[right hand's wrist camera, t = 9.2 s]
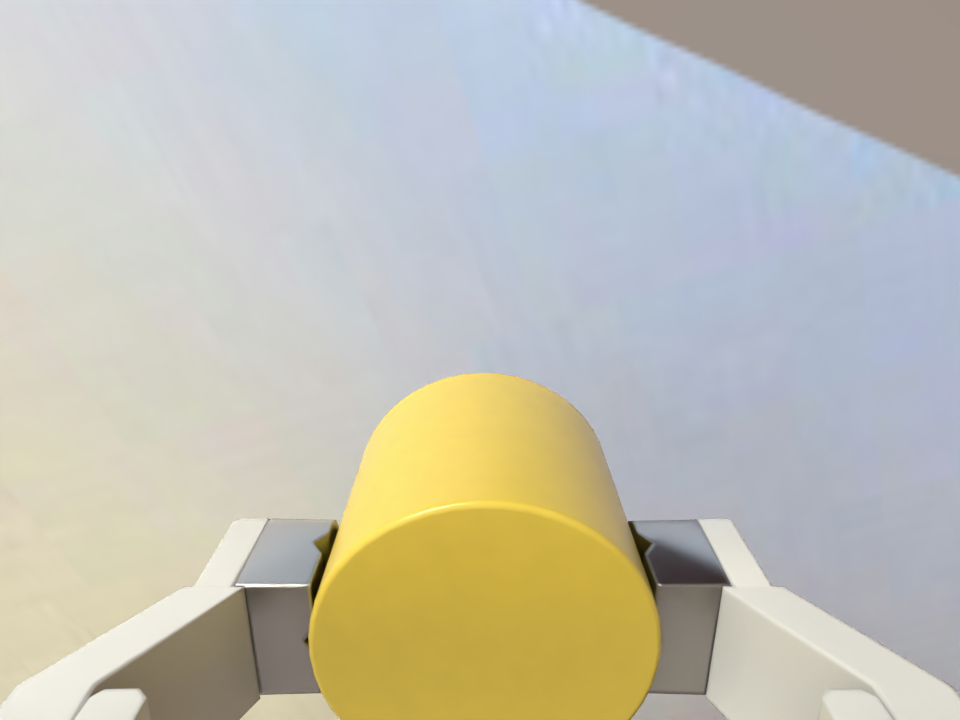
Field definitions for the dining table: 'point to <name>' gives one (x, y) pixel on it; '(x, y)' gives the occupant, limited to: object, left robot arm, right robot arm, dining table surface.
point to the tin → (484, 567)
